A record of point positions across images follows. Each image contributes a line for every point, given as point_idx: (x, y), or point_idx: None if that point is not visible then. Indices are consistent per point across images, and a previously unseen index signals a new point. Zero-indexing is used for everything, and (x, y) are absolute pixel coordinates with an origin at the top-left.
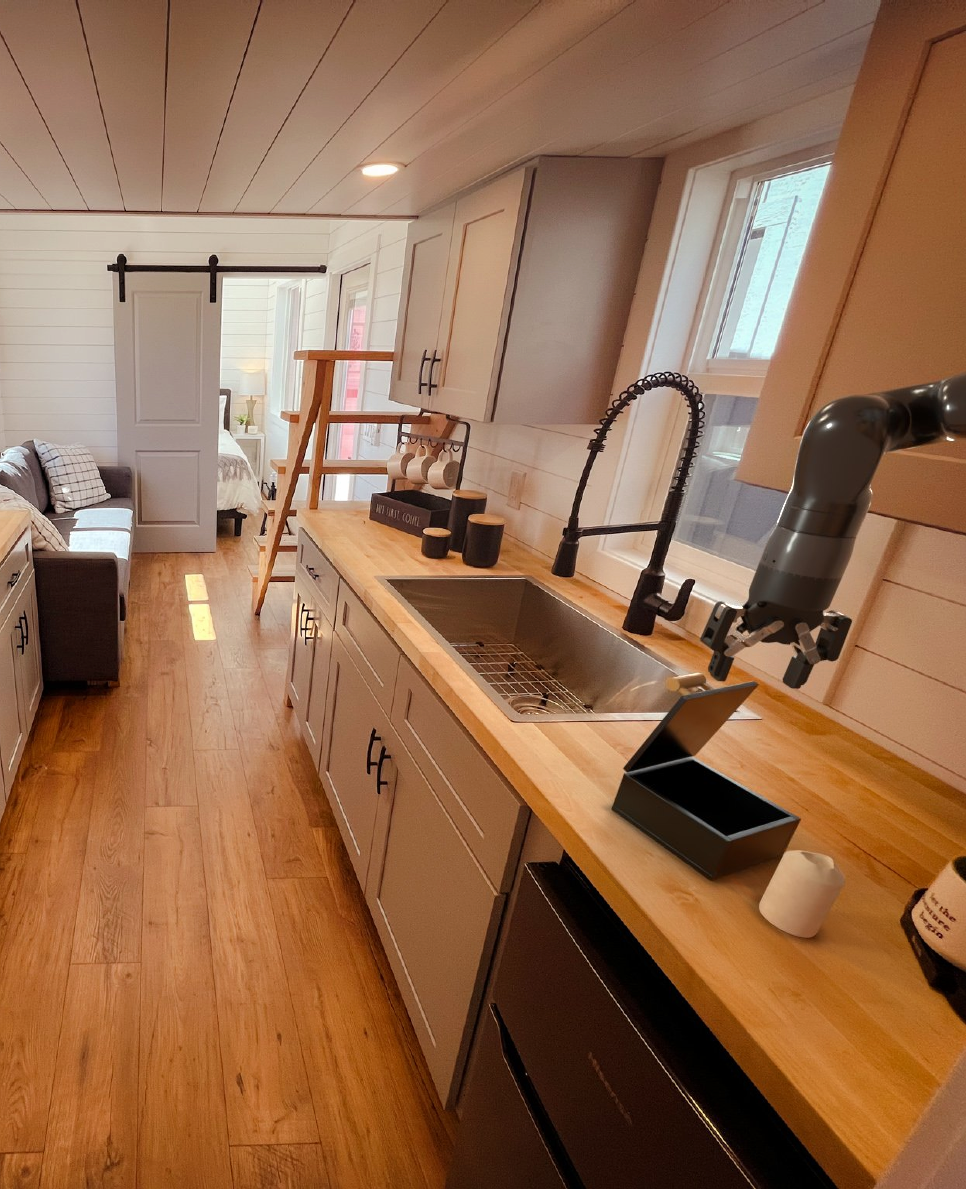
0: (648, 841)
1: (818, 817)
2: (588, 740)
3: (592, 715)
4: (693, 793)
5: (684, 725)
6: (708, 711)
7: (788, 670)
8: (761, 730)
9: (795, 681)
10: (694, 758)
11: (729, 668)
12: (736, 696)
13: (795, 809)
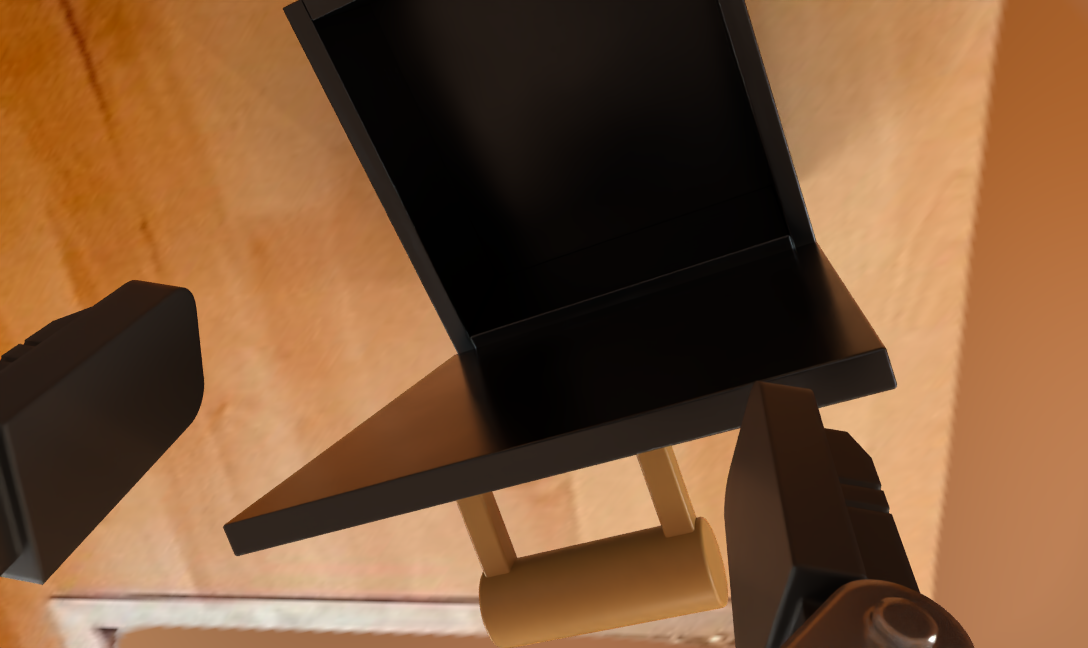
0: (771, 29)
1: (128, 193)
2: (629, 518)
3: None
4: (479, 254)
5: (670, 337)
6: (545, 392)
7: (136, 458)
8: (76, 554)
9: (149, 324)
10: (459, 346)
11: (785, 464)
12: (373, 464)
13: (175, 225)
